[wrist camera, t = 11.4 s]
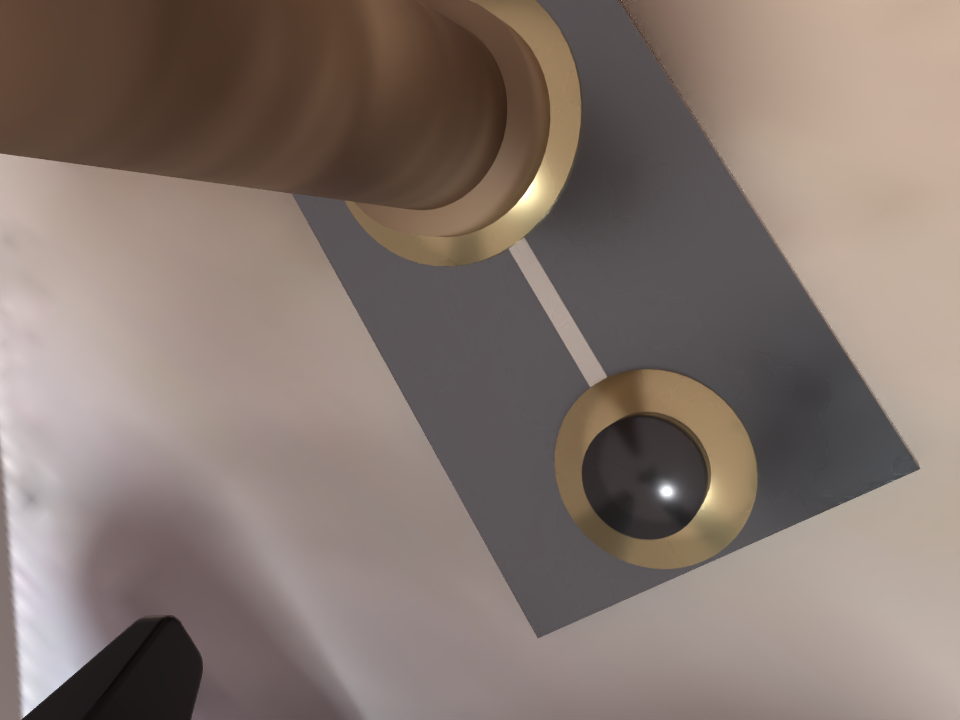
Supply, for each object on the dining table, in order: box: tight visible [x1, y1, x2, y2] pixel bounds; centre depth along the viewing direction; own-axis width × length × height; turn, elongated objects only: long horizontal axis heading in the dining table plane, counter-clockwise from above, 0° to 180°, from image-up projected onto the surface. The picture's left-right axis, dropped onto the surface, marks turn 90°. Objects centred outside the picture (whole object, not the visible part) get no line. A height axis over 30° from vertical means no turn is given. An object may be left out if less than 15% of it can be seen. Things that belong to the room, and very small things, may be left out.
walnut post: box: [0, 0, 550, 237], centre depth 14 cm, size 6×6×12 cm
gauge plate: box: [292, 0, 920, 638], centre depth 19 cm, size 17×10×2 cm, turn 33°
